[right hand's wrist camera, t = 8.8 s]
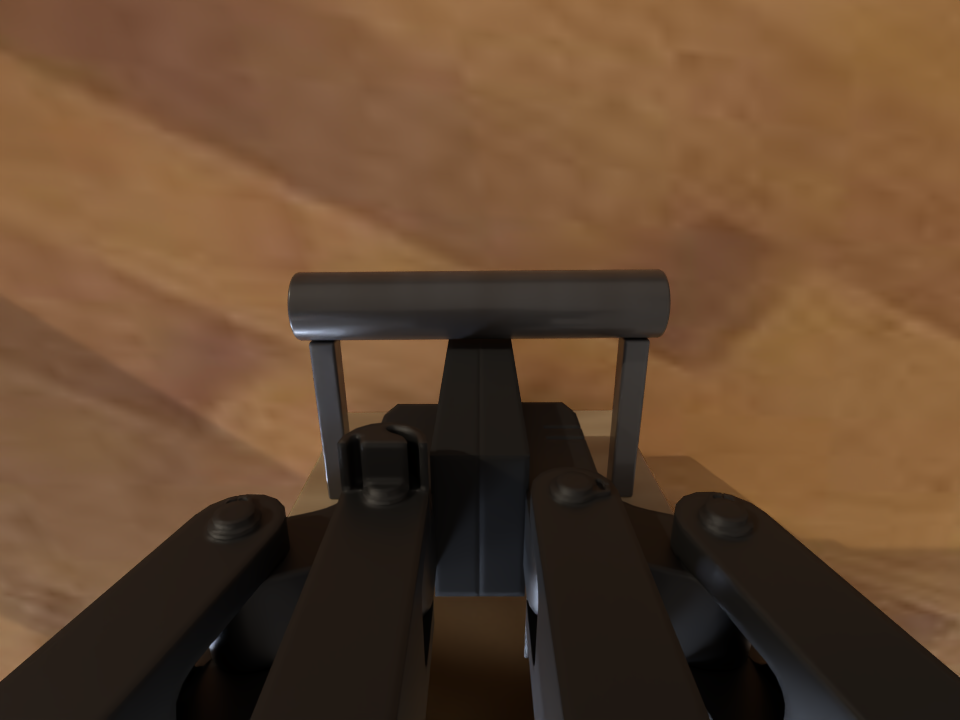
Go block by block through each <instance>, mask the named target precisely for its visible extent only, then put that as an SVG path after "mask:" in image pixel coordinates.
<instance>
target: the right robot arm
mask: <svg viewBox="0 0 960 720" xmlns="http://www.w3.org/2000/svg"><path fill="white" fill-rule="evenodd" d="M337 450H338V459H339V469H340V478H341V487H342V492H341V495H340V497H339V500H338V502H337V503H336V504H334V505H332V506H329V507H327V508H324V509H320V510H317V511H313V512H309V513H304V514H299V515H294V516H289V517H286V514H285V507H284V506H283V505H282V504H281V503H280V502H279V501H278V500H277V499H275V498H272V497H269V496H266V495H252V494H246V495H239V496H234V497H230V498H227V499H224V500H222V501H219V502H217V503H214V504H212V505H210V506H208V507H207V508H205V509H204V510H202V511H201V512H199V513H198V514H196V515H195V516H193V517H192V518H191V519H190V520H189V521H188V522H186V523H185V524H184V525H183V526H182V527H181V528H179V529H178V530H177V531H176V532H175V533H174V534H172V535H171V536H170V537H169V538H168V539H167V540H165V541H164V542H163V543H162V544H161V545H160V546H158V547H157V548H156V549H155V550H154V551H153V552H151V553H150V554H149V555H148V556H147V557H146V558H144V559H143V560H142V561H141V562H140V563H139V564H137V565H136V566H135V567H134V568H133V569H132V570H130V571H129V572H128V573H127V574H126V575H125V576H123V577H122V578H121V579H120V580H119V581H117V582H116V583H115V584H114V585H113V586H112V587H110V588H109V589H108V590H107V591H106V592H105V593H103V594H102V595H101V596H100V597H99V598H98V599H96V600H95V601H94V602H93V603H92V604H91V605H89V606H88V607H87V608H86V609H85V610H84V611H82V612H81V613H80V614H79V615H78V616H77V617H75V618H74V619H73V620H72V621H71V622H70V623H68V624H67V625H66V626H65V627H64V628H63V629H61V630H60V631H59V632H58V633H57V634H56V635H54V636H53V637H52V638H51V639H50V640H49V641H47V642H46V643H45V644H44V645H43V646H42V647H40V648H39V649H38V650H37V651H36V652H35V653H33V654H32V655H31V656H30V657H29V658H28V659H26V660H25V661H24V662H23V663H22V664H21V665H19V666H18V667H17V668H16V669H15V670H14V671H12V672H11V673H10V674H9V675H8V676H7V677H5V678H4V679H3V680H2V681H1V682H0V720H425V719H426V708H427V698H428V687H429V676H430V665H431V655H432V644H433V633H434V599H433V597H434V587H435V596H525V586H526V595H527V599H526V624H525V649H524V658H529V665H530V675H531V686H532V697H533V707H534V718H535V720H960V677H959V676H957V675H956V674H955V673H954V672H953V671H952V670H950V669H949V668H948V667H947V666H946V665H944V664H943V663H942V662H941V661H940V660H939V659H937V658H936V657H935V656H934V655H933V654H931V653H930V652H929V651H928V650H927V649H926V648H924V647H923V646H922V645H921V644H920V643H919V642H917V641H916V640H915V639H914V638H913V637H911V636H910V635H909V634H908V633H907V632H906V631H904V630H903V629H902V628H901V627H900V626H899V625H897V624H896V623H895V622H894V621H893V620H891V619H890V618H889V617H888V616H887V615H886V614H884V613H883V612H882V611H881V610H880V609H878V608H877V607H876V606H875V605H874V604H873V603H871V602H870V601H869V600H868V599H867V598H866V597H864V596H863V595H862V594H861V593H860V592H858V591H857V590H856V589H855V588H854V587H853V586H851V585H850V584H849V583H848V582H847V581H845V580H844V579H843V578H842V577H841V576H840V575H838V574H837V573H836V572H835V571H834V570H833V569H831V568H830V567H829V566H828V565H827V564H825V563H824V562H823V561H822V560H821V559H820V558H818V557H817V556H816V555H815V554H814V553H813V552H811V551H810V550H809V549H808V548H807V547H805V546H804V545H803V544H802V543H801V542H800V541H798V540H797V539H796V538H795V537H794V536H792V535H791V534H790V533H789V532H788V531H787V530H785V529H784V528H783V527H782V526H781V525H780V524H778V523H777V522H776V521H775V520H774V519H772V518H771V517H770V516H769V515H768V514H767V513H765V512H764V511H762V510H761V509H759V508H758V507H756V506H755V505H753V504H752V503H750V502H747V501H745V500H742V499H740V498H737V497H735V496H732V495H729V494H722V493H717V492H696V493H693V494H690V495H687V496H684V497H682V498H681V500H680V501H679V502H678V503H677V504H676V507H675V513H674V515H673V514H668V513H663V512H658V511H653V510H648V509H644V508H641V507H637V506H634V505H631V504H629V503H627V502H624V501H622V499H621V496H620V494H619V491H618V490H617V488H616V487H615V486H614V484H613V483H612V481H610V480H609V479H607V478H606V477H604V476H603V475H601V474H600V473H598V472H597V469H596V467H595V464H594V461H593V458H592V456H591V453H590V450H589V448H588V445H587V442H586V440H585V437H584V434H583V431H582V429H581V426H580V423H579V420H578V418H577V415H576V413H575V412H574V411H572V410H571V409H570V408H569V407H567V406H566V405H565V404H564V403H562V402H521V397H520V391H519V385H518V379H517V373H516V367H515V361H514V355H513V349H512V343H511V339H449V342H448V348H447V354H446V360H445V366H444V372H443V378H442V384H441V390H440V396H439V402H438V404H397V405H396V406H395V407H394V408H392V409H391V410H390V411H389V412H387V413H386V414H385V415H384V417H383V419H382V422H381V423H373V424H369V425H365V426H362V427H358V428H356V429H354V430H352V431H350V432H348V433H346V434H345V435H344V436H343V437H342V438H341V439H340V440H339V441H338V442H337Z"/></svg>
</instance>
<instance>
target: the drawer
mask: <svg viewBox="0 0 960 720" xmlns="http://www.w3.org/2000/svg"><path fill="white" fill-rule="evenodd" d="M669 314H670V289H669V283H668V279H667V277H666V275H665V273H664V272H663V271H661V270H659V269H652V270H531V271H411V272H299V273H296V274H295V275H294V276H293V277H292V279H291V282H290V285H289V291H288V315H289V321H290V325H291V328H292V331H293V333H294V335H295V337H296V338H297V339H299V340H301V341H304V340H312V341H311V342H310V344H309V348H310V355H311V363H312V371H313V379H314V386H315V394H316V402H317V409H318V417H319V425H320V433H321V440H322V448H323V451H322V453H321V455H320V457H319V458H318V460H317V462H316V464H315V466H314V468H313V470H312V472H311V474H310V476H309V478H308V479H307V481H306V483H305V485H304V487H303V489H302V491H301V493H300V495H299V497H298V499H297V500H296V502H295V504H294V506H293V508H292V510H291V512H290V514H289V516H294V515H299V514H304V513H309V512H313V511H317V510H320V509H324V508H327V507H329V506H332V505H334V504H336V503H337V502H338V500H339V497H340V495H341V492H342V487H341V478H340V469H339V459H338V450H337V442H338V441H339V440H340V439H341V438H342V437H343V436H344V435H345V434H346V433H348V432H350V431H352V430H354V429H356V428H358V427H362V426H365V425H369V424H373V423H381V422H382V419H383V417H384V415H385V414H386V413H387V412H348V411H347V402H346V393H345V383H344V374H343V365H342V355H341V346H340V340H426V339H549V338H619V343H618V354H617V365H616V377H615V388H614V399H613V410H572V411H574V412H575V413H576V415H577V418H578V420H579V423H580V426H581V429H582V431H583V434H584V437H585V440H586V442H587V445H588V448H589V450H590V453H591V456H592V458H593V461H594V464H595V467H596V469H597V472H598V473H600V474H601V475H603V476H604V477H606V478H607V479H609V480H610V481H612V483H613V484H614V486H615V487H616V488H617V490H618V491H619V494H620V496H621V499H622V501H624V502H627V503H629V504H631V505H634V506H637V507H641V508H644V509H648V510H653V511H658V512H663V513H668V514H673V515H674V513H673V511H672V509H671V507H670V506H669V504H668V502H667V500H666V498H665V496H664V494H663V493H662V491H661V489H660V487H659V485H658V483H657V482H656V480H655V478H654V476H653V474H652V472H651V470H650V469H649V467H648V465H647V463H646V461H645V459H644V457H643V456H642V454H641V452H640V450H639V448H638V443H639V434H640V425H641V416H642V407H643V398H644V389H645V380H646V371H647V362H648V353H649V344H650V341H649V339H648V338H658V337H660V336H661V335H662V334H663V333H664V331H665V329H666V327H667V324H668V320H669ZM289 516H288V517H289ZM433 599H434V633H433V644H432V655H431V665H430V676H429V687H428V698H427V708H426V719H425V720H535V718H534V707H533V697H532V686H531V675H530V665H529V658H524V649H525V624H526V599H527V595H526V586H525V596H435V587H434V597H433Z"/></svg>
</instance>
